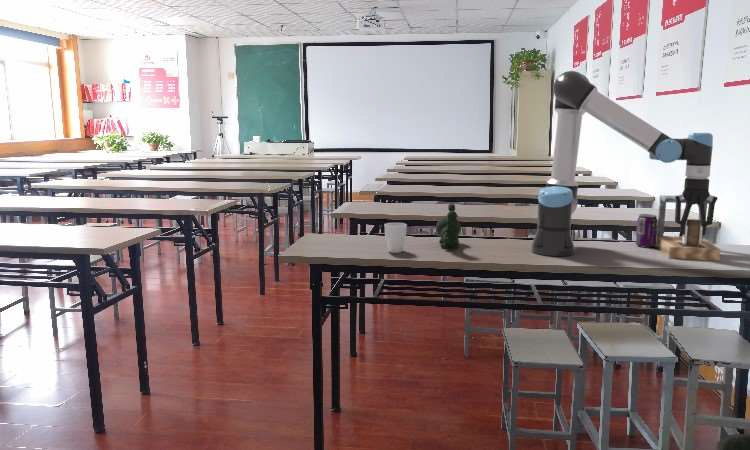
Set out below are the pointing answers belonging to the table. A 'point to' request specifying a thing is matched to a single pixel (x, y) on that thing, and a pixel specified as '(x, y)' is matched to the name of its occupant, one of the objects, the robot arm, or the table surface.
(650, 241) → the beverage can
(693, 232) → the peg
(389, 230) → the cup
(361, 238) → the table surface
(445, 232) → the toy figurine
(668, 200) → the socket station
